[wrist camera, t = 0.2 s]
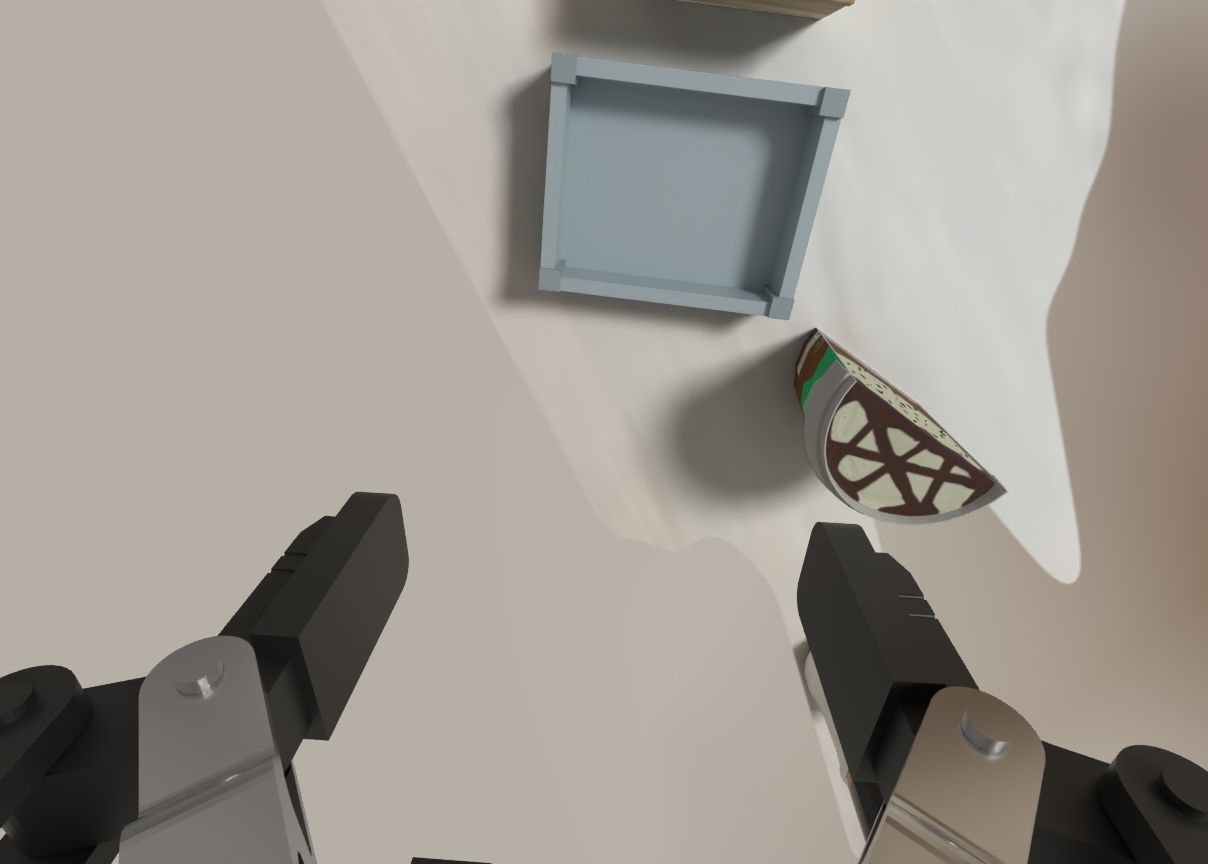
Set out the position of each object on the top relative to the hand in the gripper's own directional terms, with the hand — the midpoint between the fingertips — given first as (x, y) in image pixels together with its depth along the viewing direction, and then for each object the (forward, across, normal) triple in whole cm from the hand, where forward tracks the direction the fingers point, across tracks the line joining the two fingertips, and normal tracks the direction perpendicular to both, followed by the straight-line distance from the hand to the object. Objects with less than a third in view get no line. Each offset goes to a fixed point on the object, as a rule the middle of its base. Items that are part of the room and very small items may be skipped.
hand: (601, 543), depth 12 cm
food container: (+28, -15, +9) cm, 34 cm away
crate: (+28, -3, -4) cm, 29 cm away
